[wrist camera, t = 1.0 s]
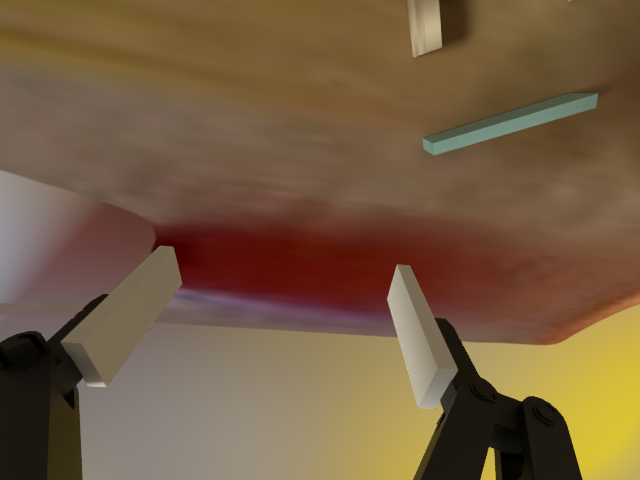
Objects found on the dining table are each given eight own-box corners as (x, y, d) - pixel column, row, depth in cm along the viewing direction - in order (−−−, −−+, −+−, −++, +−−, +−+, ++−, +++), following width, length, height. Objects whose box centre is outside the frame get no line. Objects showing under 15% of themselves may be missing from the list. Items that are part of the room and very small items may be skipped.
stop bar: (422, 138, 36) (432, 143, 32) (569, 93, 33) (598, 93, 29) (423, 149, 37) (433, 155, 33) (568, 105, 33) (595, 107, 30)
